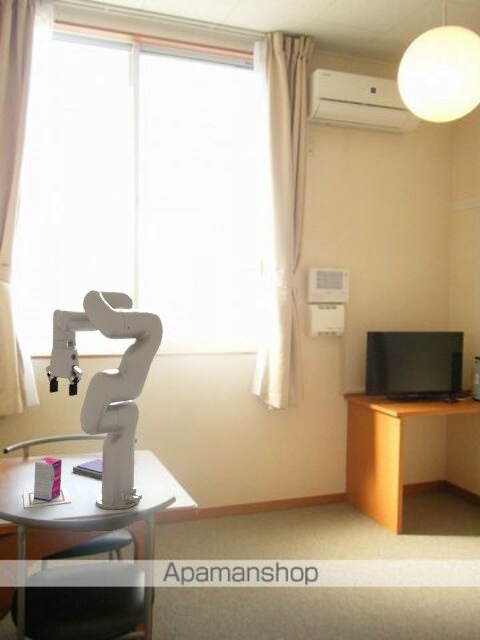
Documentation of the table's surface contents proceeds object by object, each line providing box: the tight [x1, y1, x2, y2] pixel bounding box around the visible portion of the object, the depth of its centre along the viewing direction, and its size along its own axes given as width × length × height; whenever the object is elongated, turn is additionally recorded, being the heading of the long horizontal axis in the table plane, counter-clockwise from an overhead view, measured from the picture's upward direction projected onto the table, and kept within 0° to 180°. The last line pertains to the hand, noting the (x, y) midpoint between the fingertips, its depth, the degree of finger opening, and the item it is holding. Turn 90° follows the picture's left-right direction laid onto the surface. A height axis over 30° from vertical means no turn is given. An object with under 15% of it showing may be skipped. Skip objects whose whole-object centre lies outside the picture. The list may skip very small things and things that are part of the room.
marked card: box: [23, 487, 71, 509], centre depth 166 cm, size 13×13×1 cm
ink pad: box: [72, 458, 102, 480], centre depth 193 cm, size 14×12×2 cm
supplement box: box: [33, 457, 63, 501], centre depth 166 cm, size 6×6×12 cm
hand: (63, 393), depth 188 cm, fingers open, 9 cm apart
